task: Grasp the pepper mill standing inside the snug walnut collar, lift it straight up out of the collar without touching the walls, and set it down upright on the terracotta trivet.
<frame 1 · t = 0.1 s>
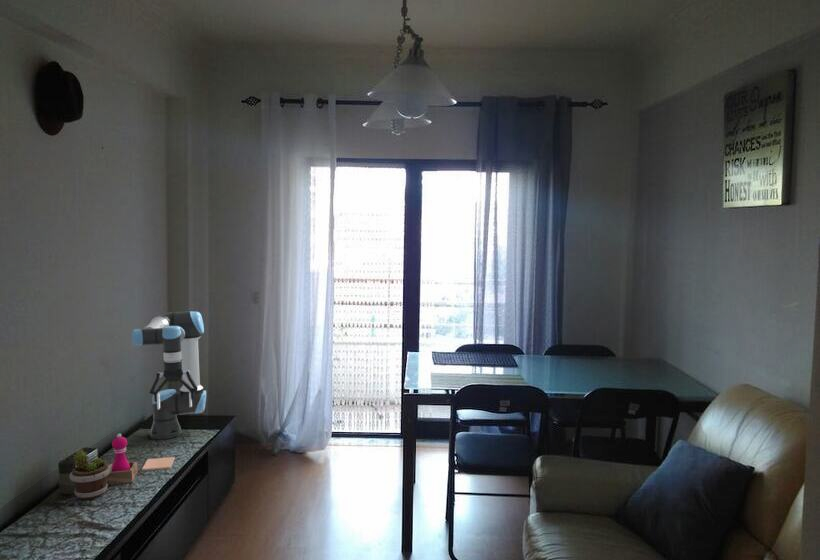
hand: (174, 407, 280), 28 cm above the table, fingers open, 13 cm apart
pepper mill: (121, 478, 271), resting in pocket
trivet: (158, 464, 287), on the table
flowerpot: (91, 495, 255), on the table
pocket: (121, 478, 271), on the table
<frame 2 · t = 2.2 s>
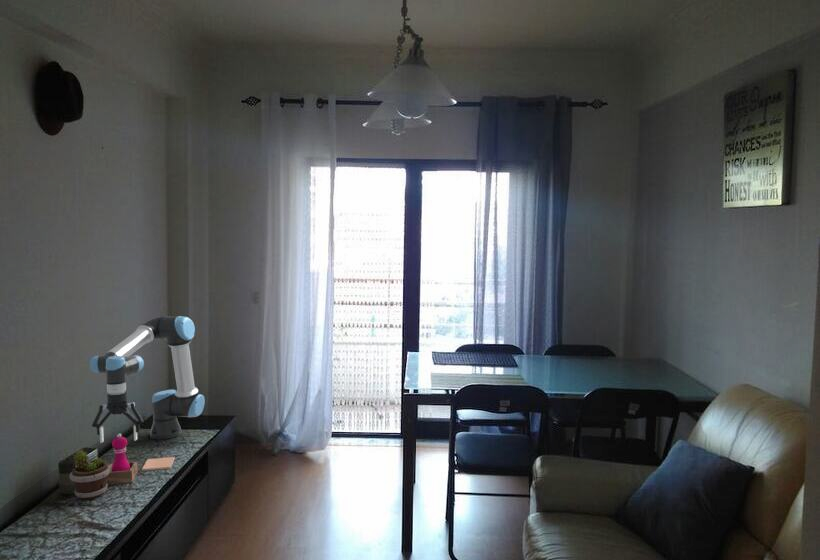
hand: (119, 440, 270), 17 cm above the table, fingers open, 13 cm apart
nothing on the table moved.
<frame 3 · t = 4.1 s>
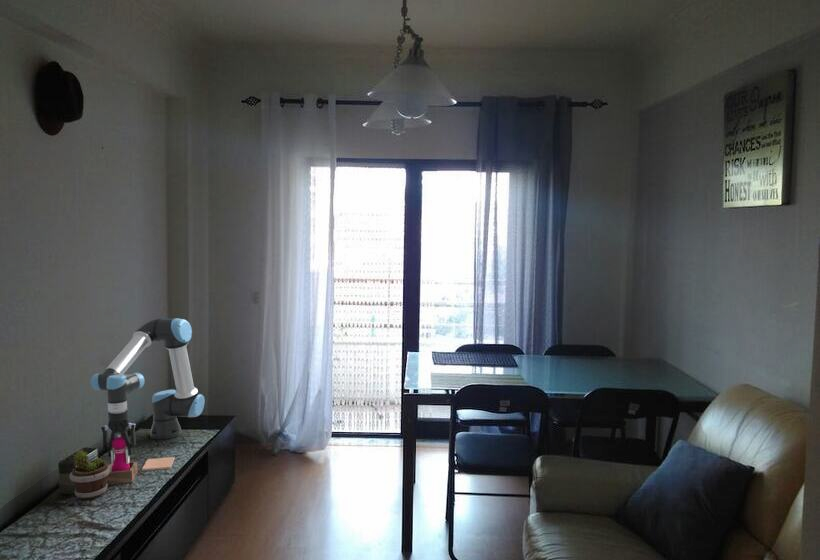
hand: (120, 463, 271), 7 cm above the table, fingers closed on pepper mill, 5 cm apart
pepper mill: (121, 478, 272), resting in pocket, touching gripper
everything else where it was.
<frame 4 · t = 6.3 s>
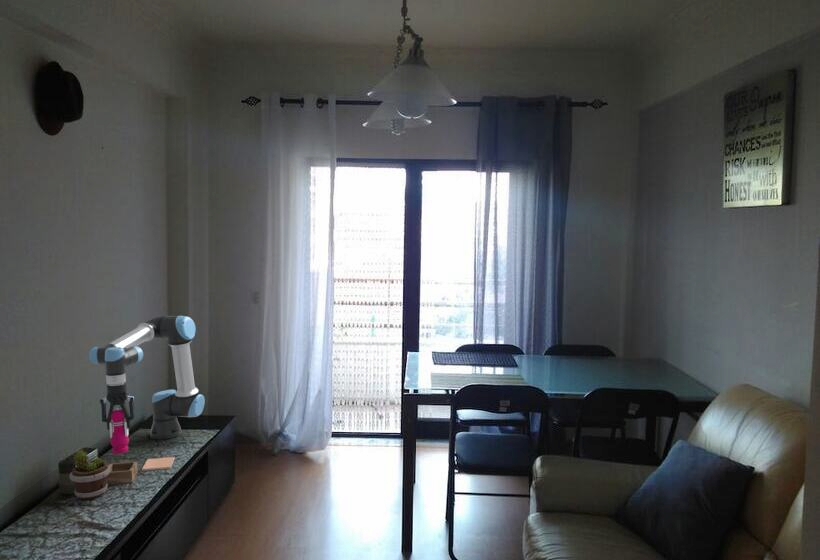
hand: (119, 436, 270), 19 cm above the table, fingers closed on pepper mill, 5 cm apart
pepper mill: (120, 451, 271), point 12 cm above the table, touching gripper
everything else where it was.
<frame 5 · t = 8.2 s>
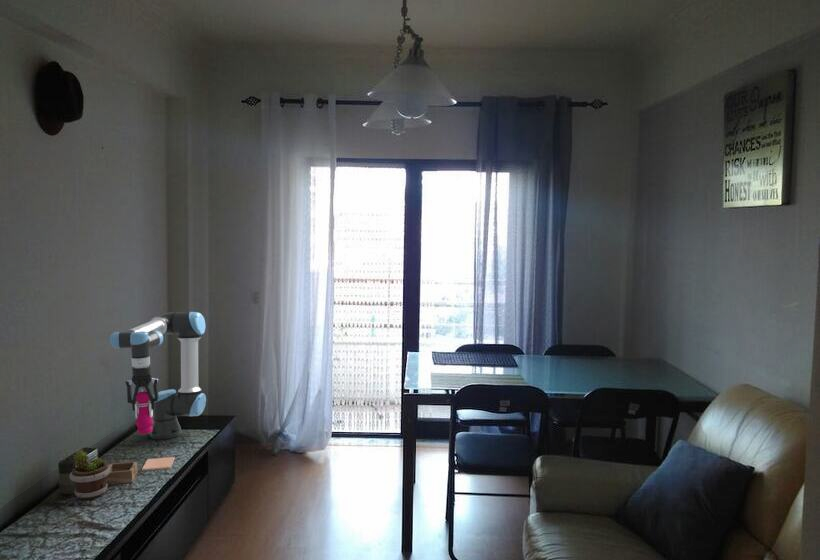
hand: (144, 416, 280), 24 cm above the table, fingers closed on pepper mill, 5 cm apart
pepper mill: (145, 432, 281), point 17 cm above the table, touching gripper
everything else where it was.
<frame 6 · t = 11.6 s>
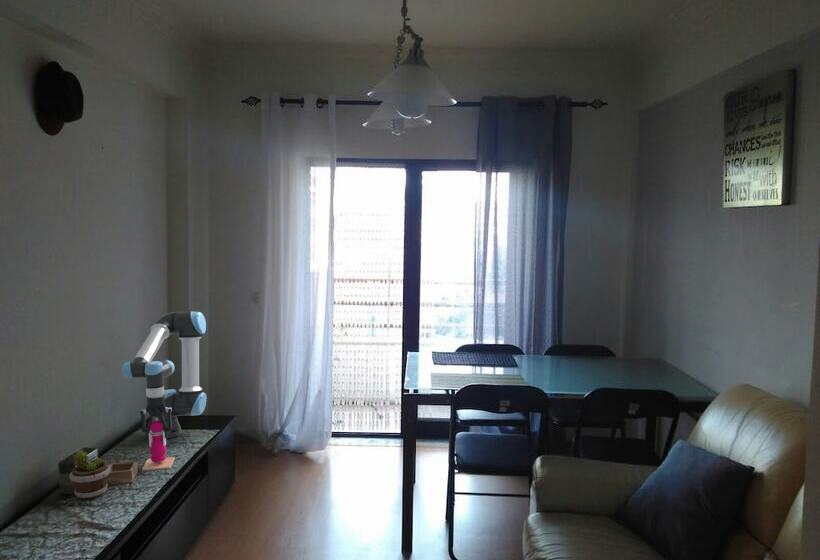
hand: (157, 445, 286), 9 cm above the table, fingers closed on pepper mill, 5 cm apart
pepper mill: (158, 460, 287), point 2 cm above the table, touching gripper
everything else where it was.
when the fingers open (9 cm above the table, at t = 12.4 s): pepper mill drops 1 cm, resting on trivet.
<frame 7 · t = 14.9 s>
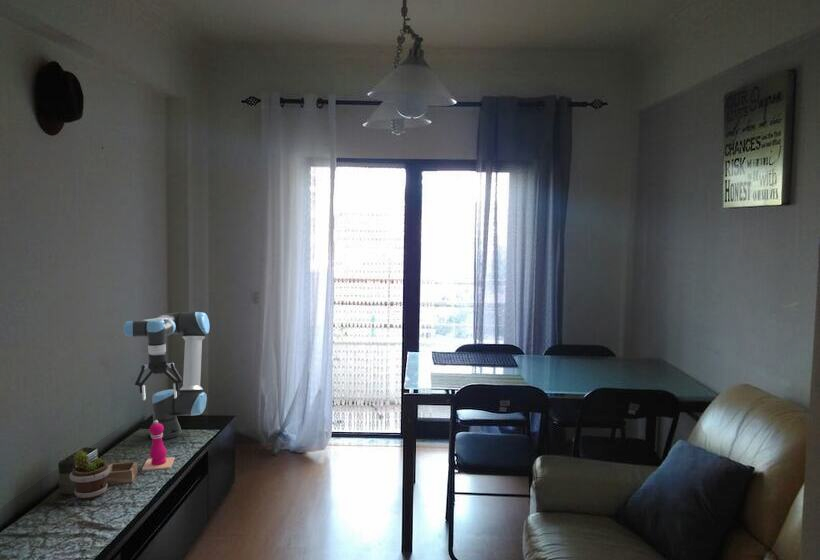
hand: (160, 398, 288), 30 cm above the table, fingers open, 13 cm apart
pepper mill: (158, 463, 287), point 1 cm above the table, touching trivet
everything else where it was.
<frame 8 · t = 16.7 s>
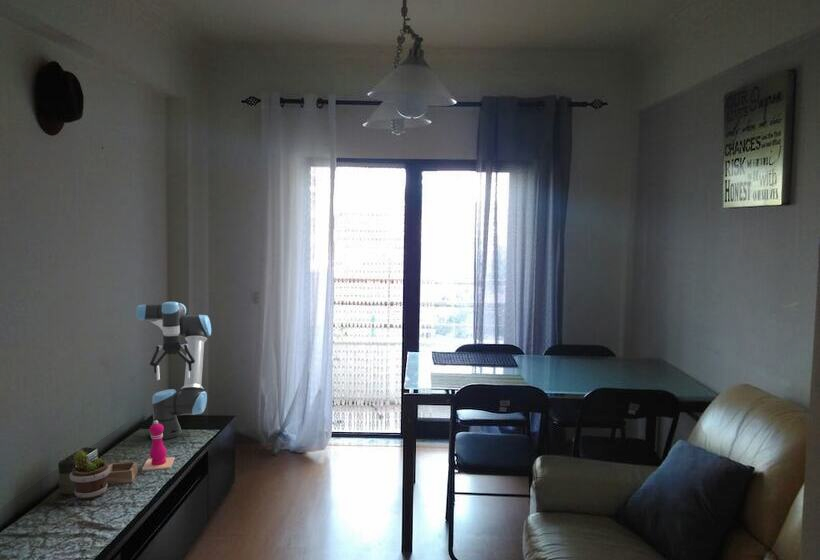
hand: (173, 378, 297), 37 cm above the table, fingers open, 13 cm apart
nothing on the table moved.
at the end: pepper mill inside the target area on the trivet (0.1 cm from its centre), point 0.7 cm above the trivet's base; pepper mill tilted 1°; the gripper is holding nothing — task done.
